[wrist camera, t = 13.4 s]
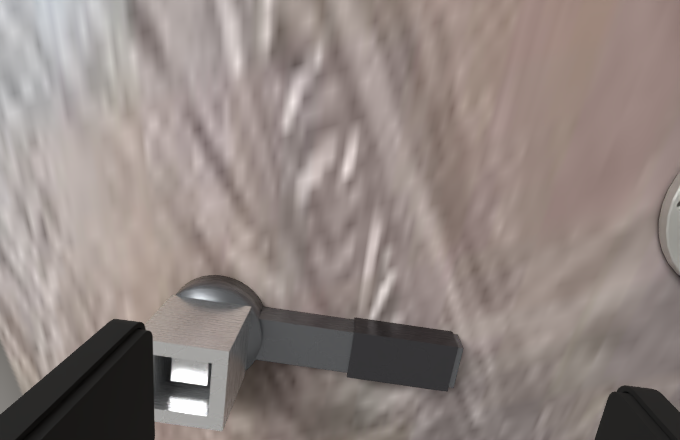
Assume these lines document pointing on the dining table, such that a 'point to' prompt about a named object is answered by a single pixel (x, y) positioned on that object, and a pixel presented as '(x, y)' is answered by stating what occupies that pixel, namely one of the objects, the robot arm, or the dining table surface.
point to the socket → (198, 359)
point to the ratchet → (330, 342)
